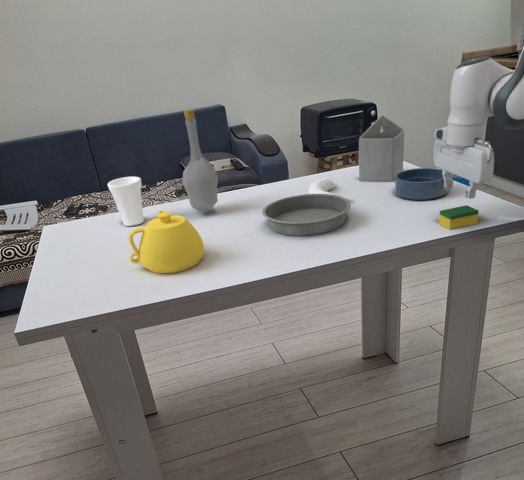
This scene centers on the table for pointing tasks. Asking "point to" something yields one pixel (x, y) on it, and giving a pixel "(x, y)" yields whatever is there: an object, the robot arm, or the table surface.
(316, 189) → the white rounded piece
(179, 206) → the table surface
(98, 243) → the table surface
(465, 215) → the sponge
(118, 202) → the cup
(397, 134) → the planter
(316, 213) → the cake pan
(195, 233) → the teapot
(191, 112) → the bottle
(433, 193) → the bowl
